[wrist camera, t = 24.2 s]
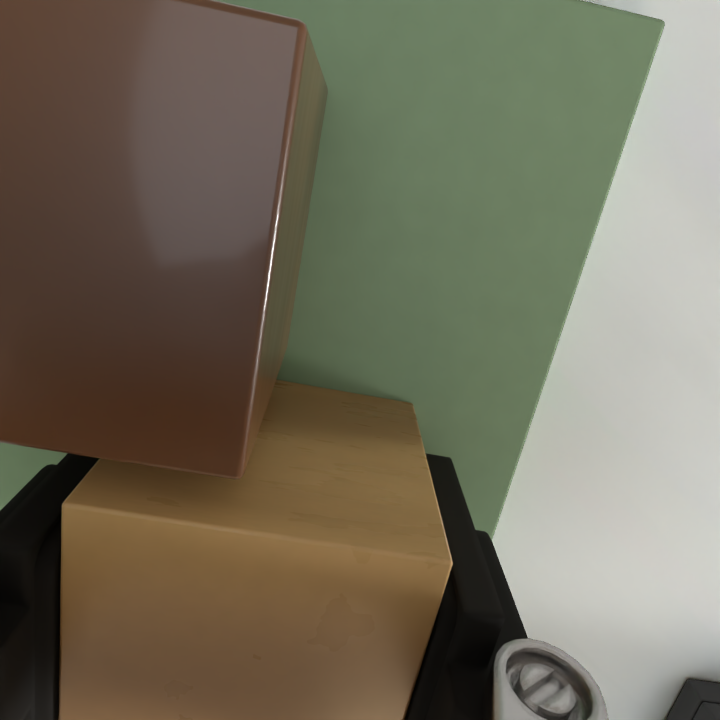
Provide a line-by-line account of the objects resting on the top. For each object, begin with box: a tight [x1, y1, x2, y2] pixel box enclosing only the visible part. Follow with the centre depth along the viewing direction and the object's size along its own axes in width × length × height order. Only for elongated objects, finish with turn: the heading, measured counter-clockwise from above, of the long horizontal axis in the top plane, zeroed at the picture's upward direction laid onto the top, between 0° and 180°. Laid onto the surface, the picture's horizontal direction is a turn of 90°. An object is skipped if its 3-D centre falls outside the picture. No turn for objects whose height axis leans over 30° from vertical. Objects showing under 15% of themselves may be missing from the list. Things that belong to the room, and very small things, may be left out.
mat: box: [0, 0, 665, 540], centre depth 10 cm, size 14×12×1 cm
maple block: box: [59, 380, 453, 720], centre depth 9 cm, size 4×4×4 cm
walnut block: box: [0, 0, 328, 480], centre depth 7 cm, size 4×4×4 cm
